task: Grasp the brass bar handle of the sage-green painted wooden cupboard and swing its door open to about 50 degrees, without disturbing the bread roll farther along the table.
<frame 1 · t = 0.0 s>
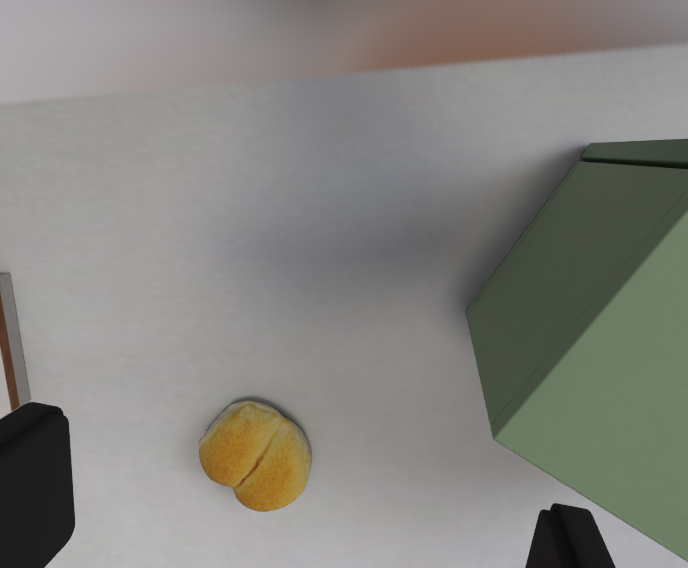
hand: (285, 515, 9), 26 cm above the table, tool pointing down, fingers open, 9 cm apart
cupboard: (632, 312, 33), on the table
bread roll: (260, 445, 40), on the table
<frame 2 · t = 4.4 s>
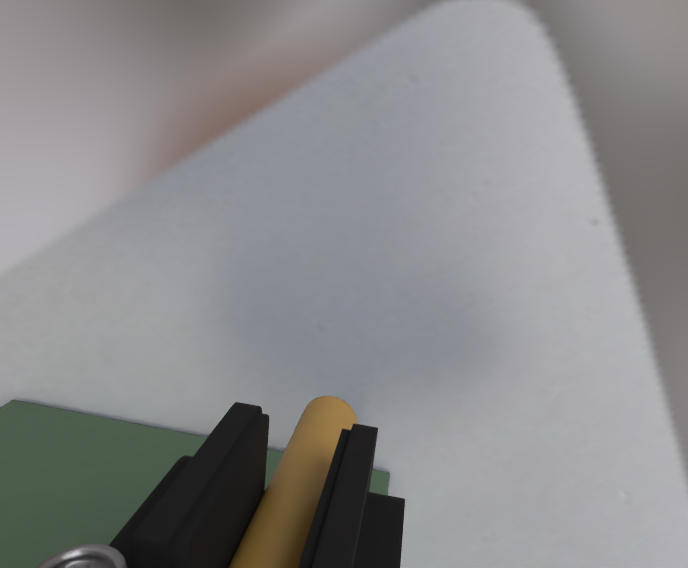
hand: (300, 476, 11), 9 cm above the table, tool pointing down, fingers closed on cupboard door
cupboard door: (63, 504, 14), point 8 cm above the table, hinge at 0.0°, touching gripper
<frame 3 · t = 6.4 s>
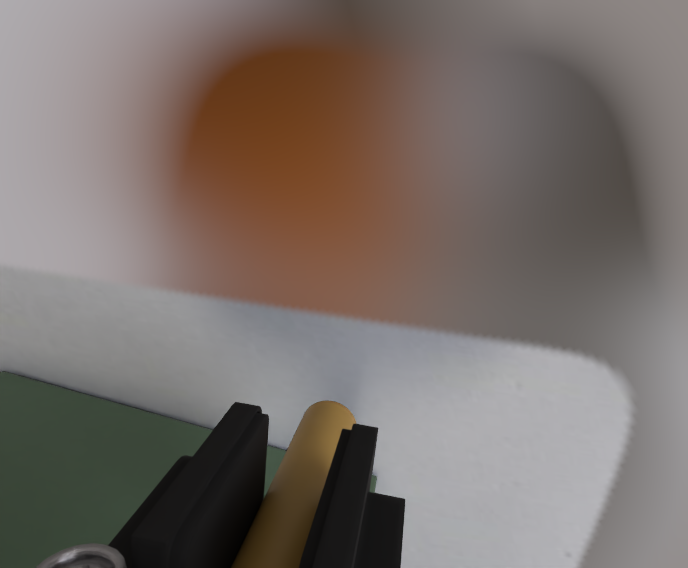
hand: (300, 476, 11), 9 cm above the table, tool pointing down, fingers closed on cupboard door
cupboard door: (55, 486, 14), point 8 cm above the table, hinge at 28.6°, touching gripper
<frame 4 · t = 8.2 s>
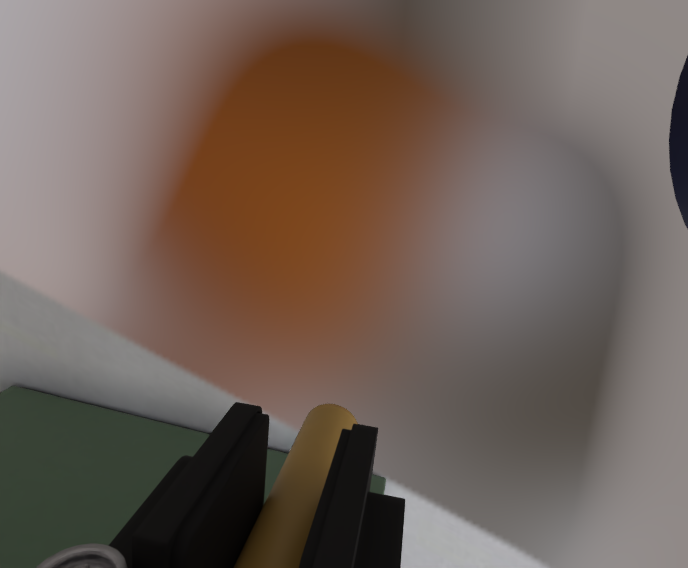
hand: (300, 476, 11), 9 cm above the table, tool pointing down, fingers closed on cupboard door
cupboard door: (62, 498, 14), point 8 cm above the table, hinge at 51.3°, touching gripper
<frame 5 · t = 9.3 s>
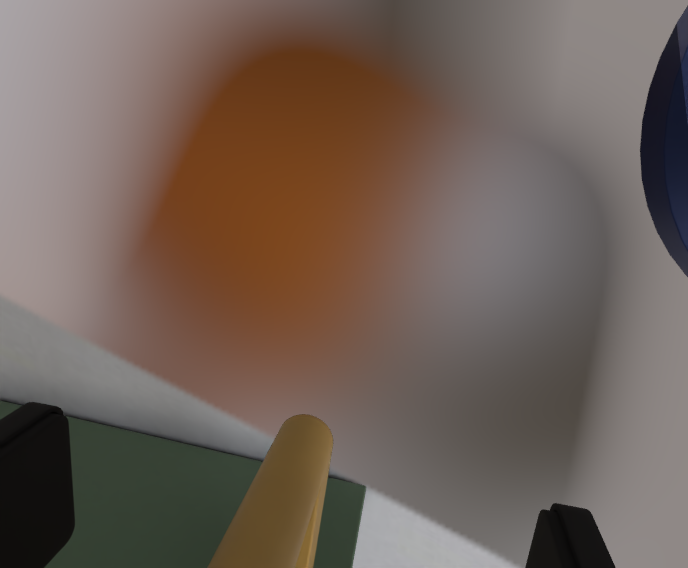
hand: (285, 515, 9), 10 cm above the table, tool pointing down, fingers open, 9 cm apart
cupboard door: (33, 514, 14), point 8 cm above the table, hinge at 51.4°
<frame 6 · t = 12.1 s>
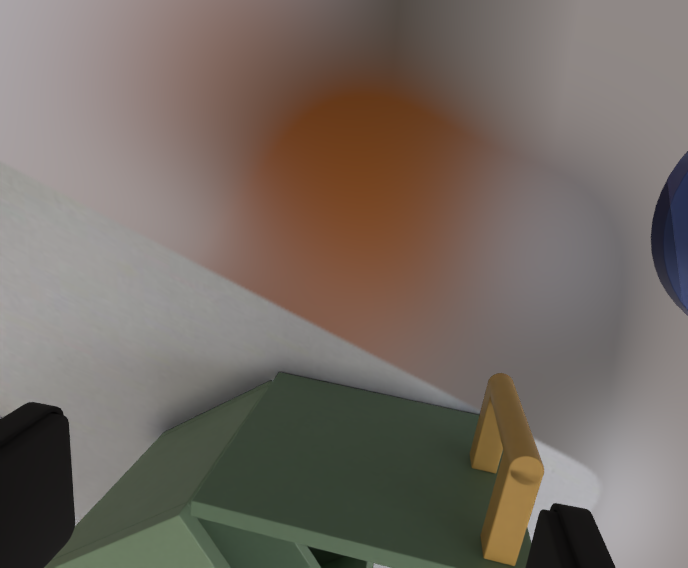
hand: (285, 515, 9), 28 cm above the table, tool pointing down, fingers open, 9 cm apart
cupboard: (269, 489, 44), on the table
cupboard door: (382, 416, 31), point 8 cm above the table, hinge at 51.4°
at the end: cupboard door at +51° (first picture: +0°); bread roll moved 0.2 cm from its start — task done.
